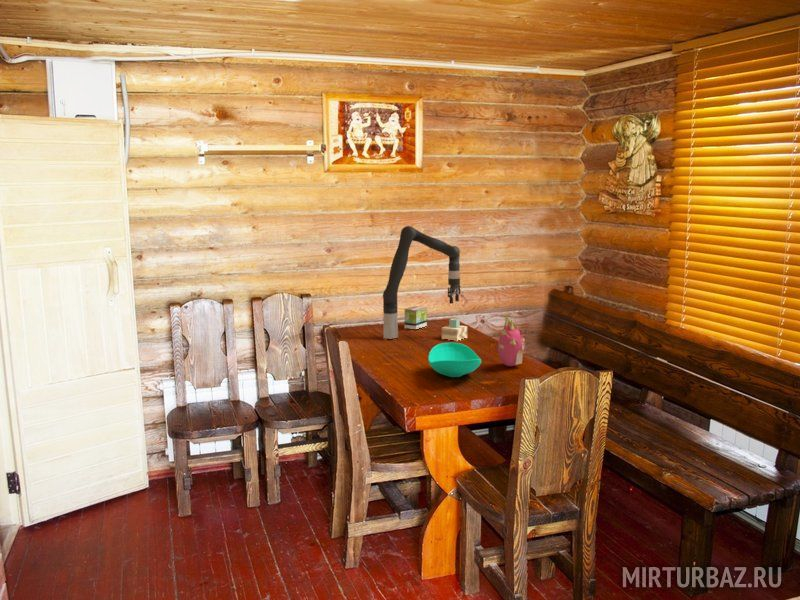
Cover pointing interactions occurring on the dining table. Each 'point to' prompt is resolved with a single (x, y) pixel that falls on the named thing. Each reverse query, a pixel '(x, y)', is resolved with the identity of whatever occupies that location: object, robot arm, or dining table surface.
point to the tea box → (415, 317)
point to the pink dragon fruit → (511, 344)
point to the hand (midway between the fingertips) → (454, 302)
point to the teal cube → (454, 323)
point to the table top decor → (453, 359)
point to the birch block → (454, 333)
